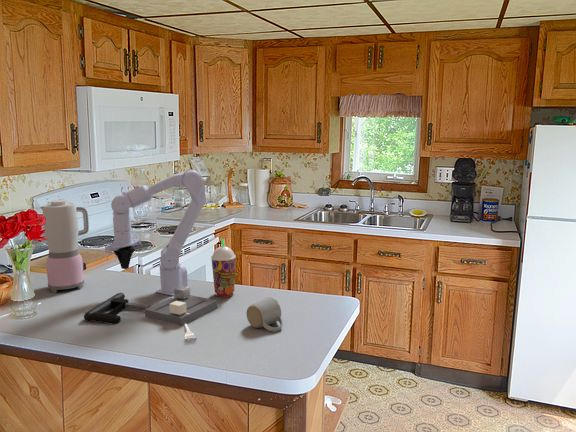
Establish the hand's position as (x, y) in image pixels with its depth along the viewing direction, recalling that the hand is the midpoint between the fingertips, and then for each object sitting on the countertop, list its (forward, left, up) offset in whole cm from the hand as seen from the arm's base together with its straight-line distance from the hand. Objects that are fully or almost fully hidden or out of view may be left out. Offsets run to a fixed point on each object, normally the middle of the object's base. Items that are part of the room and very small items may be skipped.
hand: (125, 268), depth 180 cm
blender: (+4, -25, -10) cm, 27 cm away
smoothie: (-16, +30, -10) cm, 36 cm away
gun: (+13, +11, -10) cm, 20 cm away
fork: (+13, +38, -10) cm, 42 cm away
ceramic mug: (0, +58, -10) cm, 59 cm away
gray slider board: (+4, +28, -9) cm, 30 cm away
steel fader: (-1, +24, -7) cm, 25 cm away
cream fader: (+10, +32, -7) cm, 34 cm away
